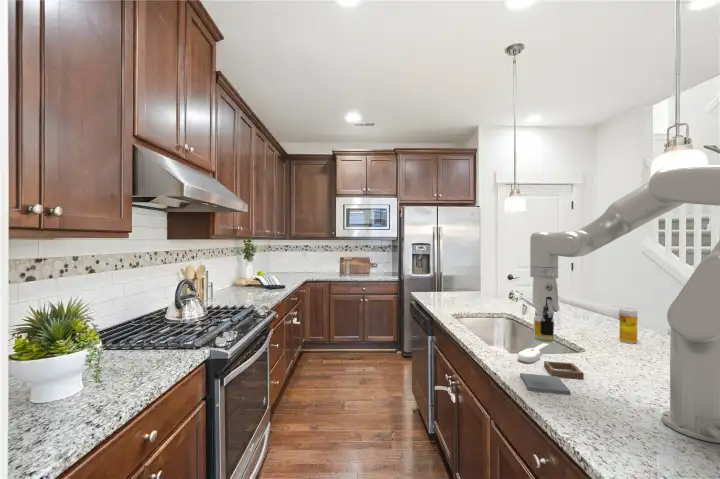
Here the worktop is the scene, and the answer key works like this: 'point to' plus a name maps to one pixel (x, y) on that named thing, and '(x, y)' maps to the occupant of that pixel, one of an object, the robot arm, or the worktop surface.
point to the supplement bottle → (537, 330)
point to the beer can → (628, 324)
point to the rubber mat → (544, 383)
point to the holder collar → (572, 374)
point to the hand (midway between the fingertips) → (543, 331)
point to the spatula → (531, 353)
